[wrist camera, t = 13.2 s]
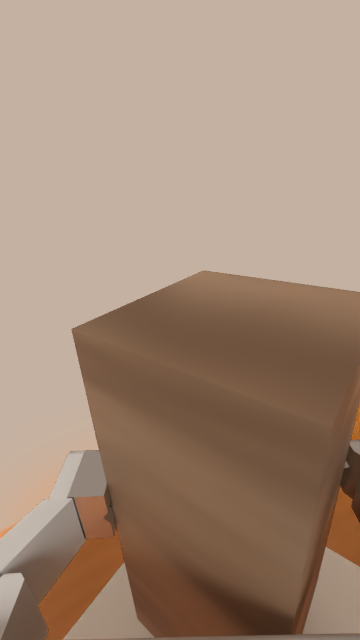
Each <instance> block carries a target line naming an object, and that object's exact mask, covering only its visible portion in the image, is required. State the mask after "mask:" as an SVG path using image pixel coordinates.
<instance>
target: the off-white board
mask: <svg viewBox="0 0 360 640" xmlns="http://www.w3.org/2000/svg"><path fill="white" fill-rule="evenodd" d="M340 633H360V567H359V566H358V565H356V564H354V563H353V562H351V561H349V560H347V559H346V558H344V557H342V556H341V555H339V554H337V553H336V552H334V551H332V550H331V549H329V548H327V547H325V552H324V556H323V560H322V564H321V568H320V573H319V577H318V581H317V585H316V588H315V592H314V595H313V599H312V602H311V606H310V609H309V613H308V616H307V619H306V623H305V626H304V630H303V633H302V634H340ZM113 638H155V637H154V636H153V635H152V634H151V633H150V632H149V631H148V630H147V629H146V628H145V627H144V626H143V624H142V623H141V622H140V621H139V620H138V619H137V615H136V610H135V606H134V601H133V597H132V593H131V588H130V584H129V580H128V575H127V571H126V566H125V562H124V563H123V564H122V565H121V567H120V568H119V569H118V570H117V572H116V573H115V574H114V575H113V577H112V578H111V579H110V580H109V582H108V583H107V584H106V585H105V587H104V588H103V589H102V591H101V592H100V593H99V594H98V596H97V597H96V598H95V599H94V601H93V602H92V603H91V604H90V606H89V607H88V608H87V609H86V611H85V612H84V613H83V614H82V616H81V617H80V618H79V620H78V621H77V622H76V623H75V625H74V626H73V627H72V628H71V630H70V631H69V632H68V633H67V635H66V636H65V637H64V638H63V640H69V639H113Z"/></svg>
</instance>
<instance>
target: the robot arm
mask: <svg viewBox="0 0 360 640" xmlns="http://www.w3.org/2000/svg"><path fill="white" fill-rule="evenodd" d="M340 486H341V488H342V490H343V492H344V493H345V494H347V495H348V496H349V497H350V498H352V499H353V501H352V506H351V507H352V509H353V511H354V513H355V515H356V516H357V518H358V520H359V522H360V440H351V442H350V445H349V450H348V454H347V458H346V463H345V467H344V471H343V475H342V479H341V484H340ZM116 524H117V523H116V519H115V514H114V510H113V508H112V505H111V497H110V493H109V488H108V484H107V482H106V478H105V474H104V470H103V465H102V461H101V456H100V452H99V450H87V451H70V453H69V454H68V455H67V457H66V459H65V461H64V464H63V466H62V469H61V471H60V473H59V476H58V478H57V481H56V483H55V485H54V488H53V490H52V492H51V495H50V497H49V499H44V500H42V501H41V502H40V503H39V504H38V505H37V506H36V507H35V508H34V509H33V510H32V511H30V512H29V513H28V514H27V515H26V516H25V517H24V518H23V519H22V520H20V521H19V522H18V523H17V524H16V525H15V526H14V527H13V528H12V529H11V530H9V531H8V532H7V533H6V534H5V535H4V536H3V537H2V538H1V539H0V640H46V637H47V634H48V630H49V629H48V627H47V624H46V622H45V620H44V618H43V616H42V614H41V612H40V610H39V608H38V605H39V604H40V602H41V601H42V600H43V598H44V597H45V595H46V594H47V593H48V591H49V590H50V589H51V587H52V586H53V585H54V583H55V582H56V581H57V579H58V578H59V577H60V575H61V574H62V572H63V571H64V570H65V568H66V567H67V566H68V564H69V563H70V562H71V560H72V559H73V558H74V556H75V555H76V553H77V552H78V551H79V549H80V548H81V547H82V545H83V544H84V543H85V539H98V538H114V535H115V530H116ZM69 640H360V633H340V634H294V635H248V636H202V637H158V638H113V639H69Z"/></svg>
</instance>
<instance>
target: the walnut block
mask: <svg viewBox="0 0 360 640" xmlns="http://www.w3.org/2000/svg"><path fill="white" fill-rule="evenodd" d="M72 333H73V337H74V342H75V347H76V351H77V355H78V359H79V364H80V368H81V373H82V377H83V382H84V386H85V390H86V395H87V399H88V404H89V408H90V412H91V417H92V421H93V425H94V430H95V434H96V439H97V443H98V447H99V452H100V456H101V461H102V465H103V470H104V474H105V478H106V482H107V484H108V488H109V493H110V497H111V505H112V508H113V510H114V514H115V519H116V523H117V524H116V527H117V531H118V536H119V540H120V544H121V549H122V553H123V558H124V562H125V566H126V571H127V575H128V580H129V584H130V588H131V593H132V597H133V601H134V606H135V610H136V615H137V619H138V620H139V621H140V622H141V623H142V624H143V626H144V627H145V628H146V629H147V630H148V631H149V632H150V633H151V634H152V635H153V636H154V637H155V638H158V637H202V636H248V635H294V634H302V633H303V630H304V626H305V623H306V619H307V616H308V613H309V609H310V606H311V602H312V599H313V595H314V592H315V588H316V585H317V581H318V577H319V573H320V568H321V564H322V560H323V556H324V552H325V547H326V543H327V539H328V535H329V530H330V526H331V522H332V518H333V513H334V509H335V505H336V501H337V497H338V492H339V488H340V484H341V479H342V475H343V471H344V467H345V463H346V458H347V454H348V450H349V445H350V442H351V437H352V433H353V429H354V425H355V420H356V416H357V412H358V408H359V403H360V292H356V291H348V290H340V289H334V288H327V287H319V286H312V285H305V284H298V283H289V282H283V281H276V280H268V279H261V278H253V277H247V276H240V275H232V274H224V273H218V272H211V271H201V272H199V273H197V274H195V275H192V276H190V277H188V278H186V279H183V280H181V281H179V282H177V283H174V284H172V285H170V286H168V287H165V288H163V289H161V290H159V291H156V292H154V293H152V294H149V295H148V296H145V297H143V298H141V299H138V300H136V301H134V302H131V303H129V304H127V305H125V306H122V307H120V308H118V309H116V310H113V311H111V312H109V313H107V314H104V315H102V316H100V317H98V318H95V319H93V320H91V321H89V322H87V323H85V324H82V325H80V326H77V327H75V328H73V329H72Z"/></svg>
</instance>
